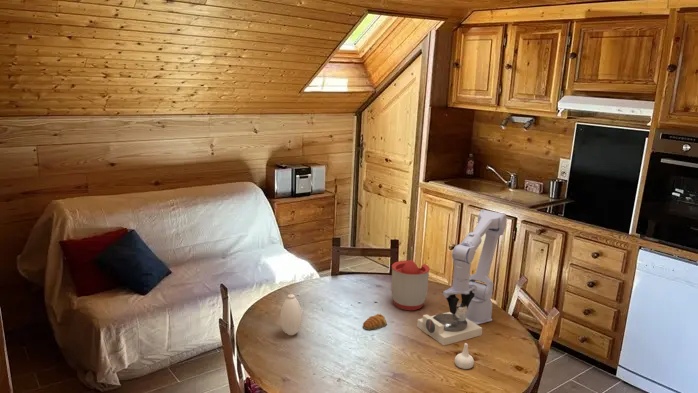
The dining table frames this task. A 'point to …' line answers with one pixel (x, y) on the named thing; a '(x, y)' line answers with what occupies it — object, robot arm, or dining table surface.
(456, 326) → the pan
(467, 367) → the garlic bulb
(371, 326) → the pastry
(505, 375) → the dining table surface
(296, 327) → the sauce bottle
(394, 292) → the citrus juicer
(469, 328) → the base
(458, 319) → the cylinder
